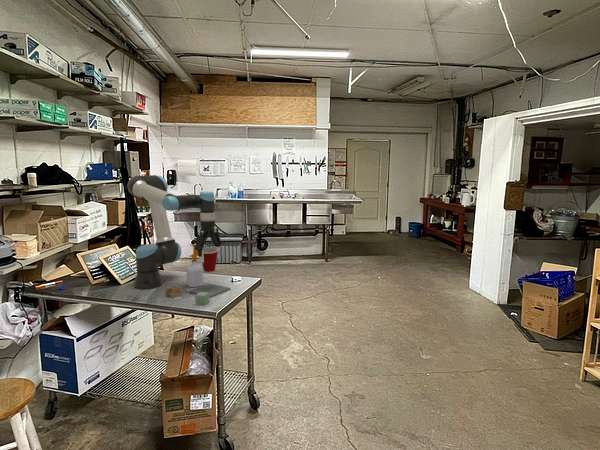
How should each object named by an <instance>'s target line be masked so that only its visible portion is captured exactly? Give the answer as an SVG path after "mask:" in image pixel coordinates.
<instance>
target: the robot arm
mask: <svg viewBox="0 0 600 450" xmlns="http://www.w3.org/2000/svg"><path fill="white" fill-rule="evenodd" d="M126 188H127V190H128V192H129V193H130V194H131V195H132V196H134V197H136V198H137V197H138V198H144V199H145V200H146V201H147V202H148V205H149V209H150V214H151V215H150V216H151V219H152V223H153V227H154V232H155V236H156V241H155V242H154V243H148V244H143V245H140V246H138V247H136V249H135V255H134V256H135V264H136V276H135V278H134V279H135V280H134V283H133V286H134V288H135V287H136V288H135V289H137V288H139V289H138V290H150V289H155V288H159V287H161V286H162V285H163V279H162V277H161V274H160V271H159V266H163V265H167V264H173V263H175V262H177V261H178V260H180V258H181V256H182V246H181V245H180V243H179V242H176V239H175V238H174V237H172V236H173V235H172V232H171V228H170V222H169V219H168V214H167V211H168V212H169V211H171V212H174V211H179V210H180V211H181V210H191V209H192V210H193V209H199V211H200V215H199V217H200V228H201V230H200V231H197V233H196V235H197V237H196V242H195V244H194V245H195V250H198V256H197V257H198V262H199V263H200V264H201V263H204V251H203V250H202V249H203V248H205V244H206V242H207V240H208V238H210V240H211V241H212V244H213V245H214V246H213V248H218V249H219V251H220V247H221V246H222V241H221V237H220V234H219V228H216V220H215V219H216V218H215V217H216V216H215V215H216V214H215V212H216V210H215V193H214V192H213V191H200V192H199V194H184V195H181V194H180V195H176V194H173V193H171V192H168V188H169V185H168V182H167V180H166V179H165V178H164V177H163V176H161V175H156V174H153V175H134V176H133V177H131V178H130V179H129V180H128V182H127V186H126ZM197 247H198V248H197ZM219 251H218V254H217V259H219V258H220V257H219Z"/></svg>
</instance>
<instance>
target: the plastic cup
mask: <svg viewBox="0 0 600 450" xmlns="http://www.w3.org/2000/svg"><path fill="white" fill-rule="evenodd" d="M202 250H203V251H204V263H202V268H203V272H206V273H211V272H215V270H216V264H217V259H218V258H217V254H218V255H219V252H218V251H220V248H219V249H218V248H214V246H212V247H210V246H209V247H203V249H202Z"/></svg>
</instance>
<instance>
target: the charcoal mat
mask: <svg viewBox="0 0 600 450" xmlns="http://www.w3.org/2000/svg"><path fill="white" fill-rule="evenodd" d="M230 290H231V287H229V286H223V285H218V284H214V283H213V284H212V283H206V284H203V285H202V286H200V287H195V288H193V289H190V290H188V293H189V294H193V295H196V294H198V293H199V292H207V293H209V299H212V298H214V297H216V296H218V295H221V294H223V293H226V292H228V291H230Z"/></svg>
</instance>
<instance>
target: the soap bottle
mask: <svg viewBox="0 0 600 450" xmlns="http://www.w3.org/2000/svg"><path fill="white" fill-rule="evenodd" d="M195 245H196V244H193V243H190V244H189V246H192V247H193V249H192V250H193V254H191V255H189V257H190V258H192V259H191V264H190V265H188V266H187V267H186V285H187V287H188V288H198V287H201V286H204V268H203V265H201V264H198V259H197V258H198V257H199V256H198V250H195ZM197 248H198V247H197Z"/></svg>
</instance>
